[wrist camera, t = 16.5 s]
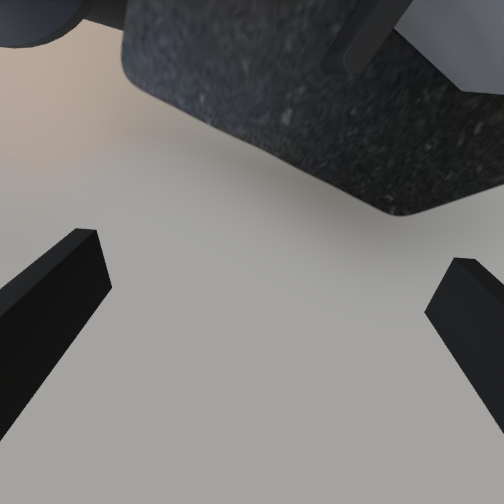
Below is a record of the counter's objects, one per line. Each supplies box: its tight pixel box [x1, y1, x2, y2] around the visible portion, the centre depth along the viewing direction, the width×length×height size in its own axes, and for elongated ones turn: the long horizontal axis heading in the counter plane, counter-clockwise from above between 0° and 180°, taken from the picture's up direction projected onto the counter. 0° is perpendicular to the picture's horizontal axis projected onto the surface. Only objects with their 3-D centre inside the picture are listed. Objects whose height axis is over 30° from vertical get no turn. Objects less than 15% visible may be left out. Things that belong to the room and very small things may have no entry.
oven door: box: [321, 0, 504, 94], centre depth 22 cm, size 7×15×14 cm, turn 58°
